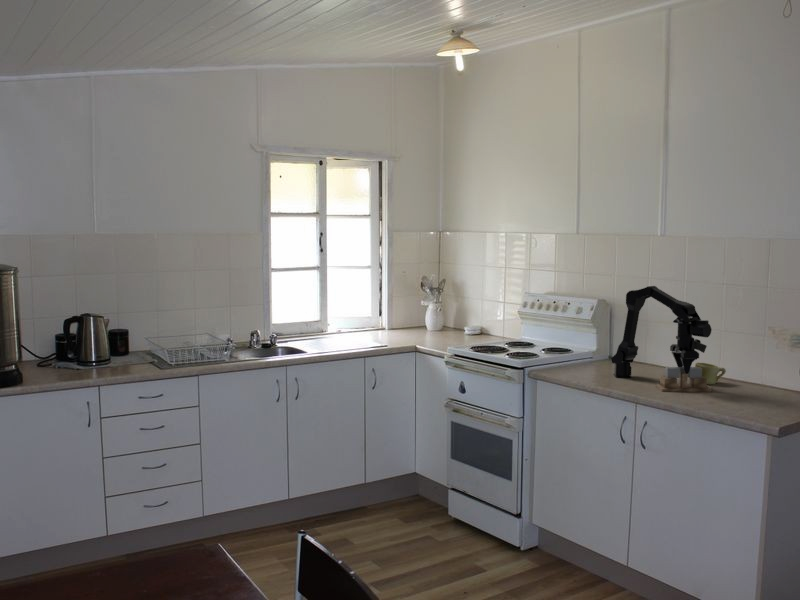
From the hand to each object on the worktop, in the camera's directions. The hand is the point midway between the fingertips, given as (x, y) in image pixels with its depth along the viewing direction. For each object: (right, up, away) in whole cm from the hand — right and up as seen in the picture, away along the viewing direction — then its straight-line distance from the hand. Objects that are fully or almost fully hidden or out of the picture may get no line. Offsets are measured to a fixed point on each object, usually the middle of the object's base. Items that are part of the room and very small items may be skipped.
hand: (683, 371), depth 313 cm
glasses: (0, -2, 0) cm, 2 cm away
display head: (0, -7, +1) cm, 7 cm away
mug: (+16, -6, +12) cm, 21 cm away
